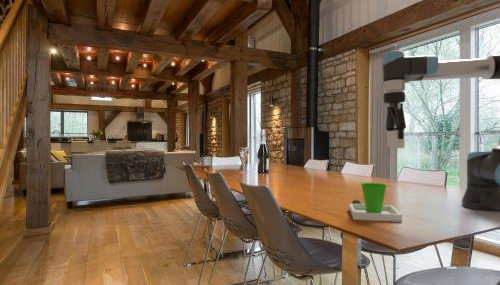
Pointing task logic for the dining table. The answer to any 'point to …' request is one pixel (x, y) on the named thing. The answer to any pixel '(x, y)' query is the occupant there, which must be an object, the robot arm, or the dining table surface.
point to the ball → (356, 202)
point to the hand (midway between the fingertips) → (395, 147)
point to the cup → (373, 196)
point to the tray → (386, 215)
